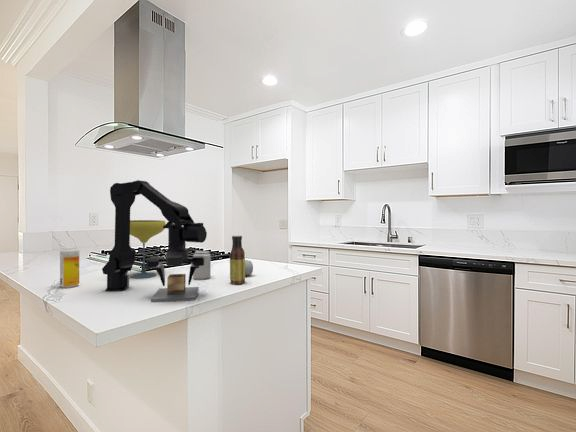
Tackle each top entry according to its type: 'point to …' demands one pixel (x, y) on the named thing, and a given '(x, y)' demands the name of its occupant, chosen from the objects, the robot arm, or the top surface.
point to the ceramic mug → (248, 267)
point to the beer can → (69, 267)
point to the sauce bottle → (237, 261)
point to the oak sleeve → (176, 284)
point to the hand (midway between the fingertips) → (176, 285)
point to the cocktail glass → (145, 238)
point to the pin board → (162, 295)
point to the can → (204, 270)
